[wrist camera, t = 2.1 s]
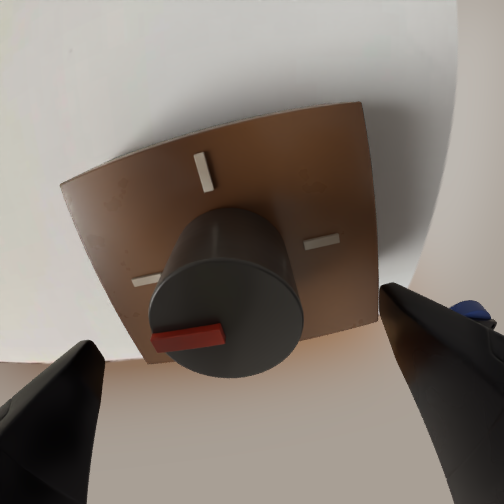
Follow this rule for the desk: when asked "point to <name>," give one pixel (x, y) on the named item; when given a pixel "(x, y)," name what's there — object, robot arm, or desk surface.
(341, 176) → the panel
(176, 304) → the knob
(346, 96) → the desk surface
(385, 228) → the desk surface
